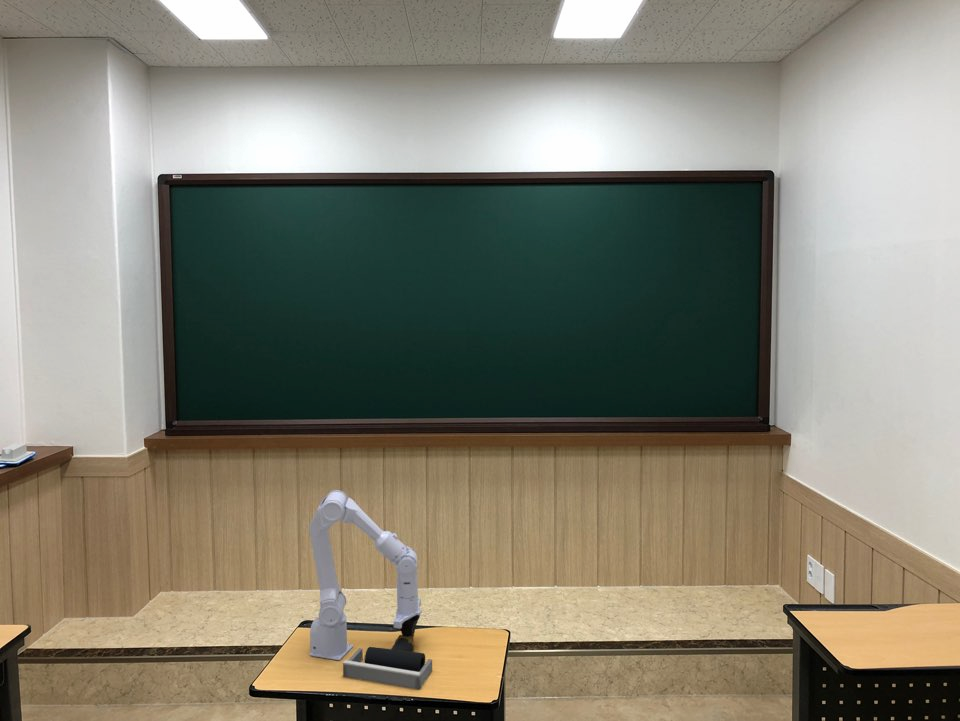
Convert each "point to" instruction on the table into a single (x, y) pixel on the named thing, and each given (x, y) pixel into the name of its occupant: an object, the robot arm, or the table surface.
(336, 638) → the robot arm
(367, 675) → the bracket
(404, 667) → the pipe connector
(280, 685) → the table surface
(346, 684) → the table surface
